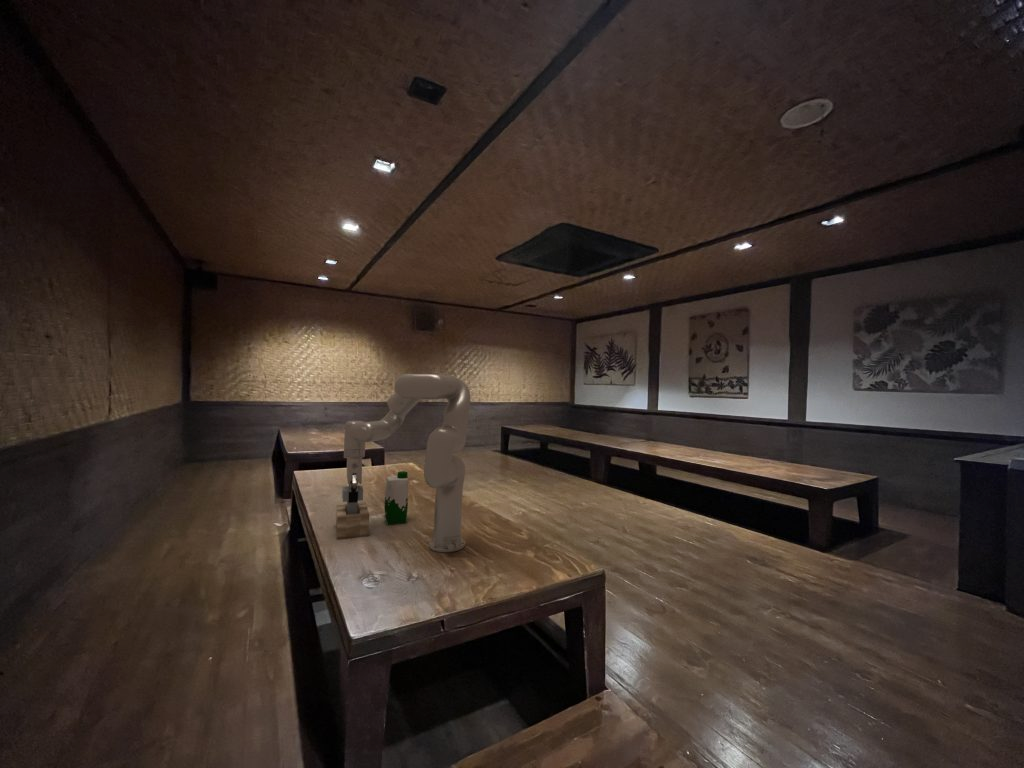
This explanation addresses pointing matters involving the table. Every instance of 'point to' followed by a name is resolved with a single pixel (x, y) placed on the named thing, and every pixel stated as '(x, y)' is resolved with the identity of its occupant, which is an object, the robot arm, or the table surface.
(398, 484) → the milk carton
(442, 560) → the table surface
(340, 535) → the slot rack
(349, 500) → the robot arm
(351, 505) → the t peg
